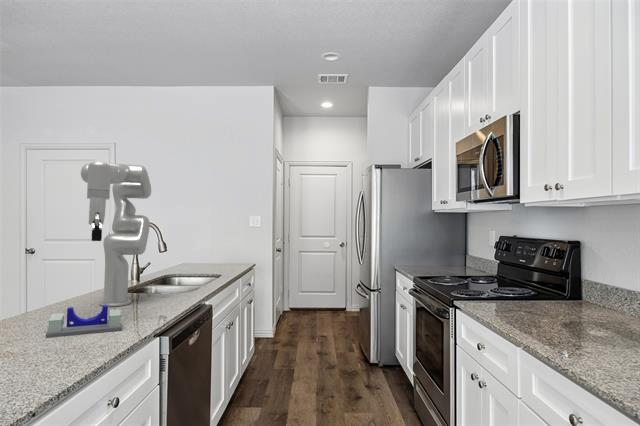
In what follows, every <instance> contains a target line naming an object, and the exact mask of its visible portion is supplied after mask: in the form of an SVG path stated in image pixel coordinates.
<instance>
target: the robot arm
mask: <svg viewBox="0 0 640 426" xmlns="http://www.w3.org/2000/svg"><path fill="white" fill-rule="evenodd" d="M80 169H81V170H80V177H81V179H82V181H84V182H85V183H87V189H86V190H87V191H86V199H89V205H88V207H89V208H88V224H89V225H92V229H91V241H92V242H101V241H102V239H103V238H102V236H103V235H102V234H103V229H102V226H103V225H104V223H105V217H106V206H107V200H110V196H111V195H110V192H111V189H112V197H113V200H114V204H115V212H114V216H113V220H112V225H111V228H112V229H111V230H112V232H113V233H110V234H109V233H108V235H106V236H105V237H104V239H103V251H104V286H103V300H100V301H99V305H100V306H102V307H103V305H108V308H109V307H110V308H111V307H123V306H127V305H130V304H131V303H132V300H131V299H129V298H128V293H129V292H128V290H129V289H128V288H129V269H130V268H129V266H130V265H129V261H128V260H127V259H126V258H125V256H128V255H129V256H137V255H138V256H139V255H140V256H141V255H143V254H144V253H145V251H146V249H147V244H148V243H147V242H148V239H149V232H150V227H151V226H150V219H149V218H148V217H147V216H145V215H143V214H142V215H141V214H139V215H138V214H136V212H137V211H136V210H137V209H136V207H135V205H134V204H133V203H132V202H131V201H130V199H142V200H143V199H149V197H151V195H152V184H151V181H150V176H149V174H148V173H149V172H148V171H147V169H146V167H145V166H143V165H141V164H127V163H126V164H123V163H107V162H101V161H99V162H98V161H97V162H96V161H94V162H93V161H92V162H90V163H85V164H84V165H83V166H82V167H81V168H80ZM111 185H112V188H111Z"/></svg>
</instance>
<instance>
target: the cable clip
mask: <svg viewBox="0 0 640 426" xmlns="http://www.w3.org/2000/svg"><path fill="white" fill-rule="evenodd" d="M108 309H109V307H108V305H103V306H102V308H101V311H100V312H99V313H97V314H96V315H95V316H92V317H88V318H81V317H79V316H78V315H77V314H76V312H75V311H74V306H72V307H68V308H67V309H66V324H67V327H76V326H89V325H101V324H107V320H108V316H109V312H108V311H109V310H108ZM70 323H73V324H70Z"/></svg>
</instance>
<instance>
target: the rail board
mask: <svg viewBox="0 0 640 426" xmlns="http://www.w3.org/2000/svg"><path fill="white" fill-rule="evenodd" d="M108 311H109V312H108V319H107V324H101V325H89V326H76V327H67V323H65V313H64V312H61V313H52V314H51V316H50V317H49V319H48V326H47V329H46V333H45V339H49V337H50V338H60V337H70V336H80V335H90V334H101V333H111V332H112V333H113V332H122V331H123V320H122V313H121V308H117V309H109V310H108ZM69 323H70V324H73V322H69ZM59 336H60V337H59Z"/></svg>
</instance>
